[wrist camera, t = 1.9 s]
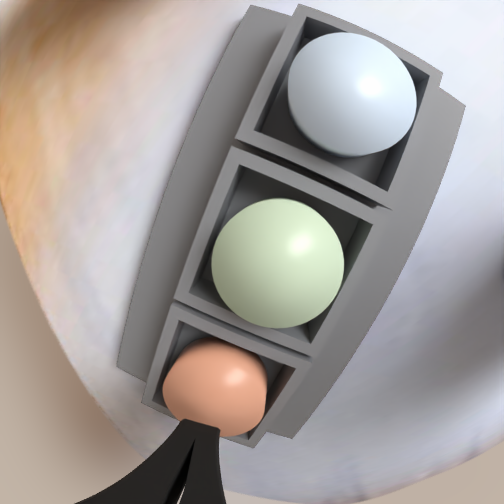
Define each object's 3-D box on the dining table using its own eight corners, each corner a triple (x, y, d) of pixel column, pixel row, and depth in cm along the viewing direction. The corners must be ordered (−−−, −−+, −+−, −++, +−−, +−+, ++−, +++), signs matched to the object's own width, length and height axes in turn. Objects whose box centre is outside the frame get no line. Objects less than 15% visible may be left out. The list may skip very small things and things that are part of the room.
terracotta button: (283, 359, 13) (282, 386, 11) (246, 420, 14) (241, 447, 12) (191, 321, 13) (177, 343, 11) (167, 388, 14) (153, 412, 12)
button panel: (455, 109, 11) (488, 98, 9) (292, 427, 16) (291, 463, 14) (252, 14, 12) (245, -18, 9) (123, 357, 16) (100, 385, 14)
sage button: (353, 225, 11) (366, 235, 10) (304, 321, 13) (307, 345, 11) (248, 178, 12) (241, 178, 10) (207, 280, 13) (193, 298, 11)
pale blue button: (409, 84, 10) (429, 70, 8) (374, 176, 11) (391, 176, 9) (311, 37, 10) (315, 14, 8) (270, 128, 11) (267, 118, 9)
